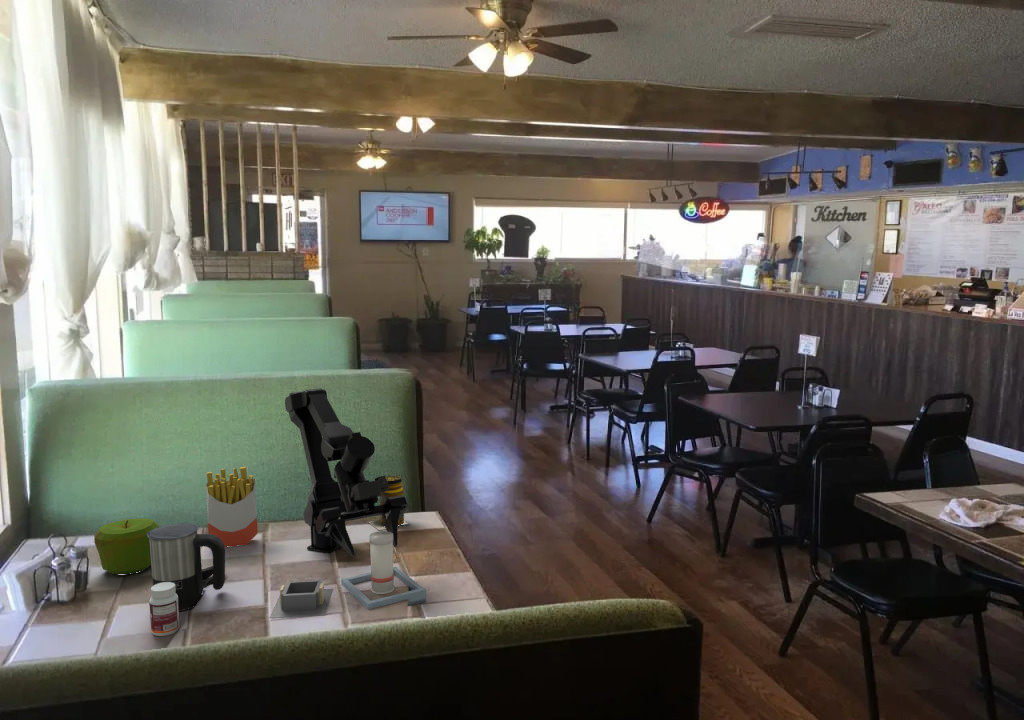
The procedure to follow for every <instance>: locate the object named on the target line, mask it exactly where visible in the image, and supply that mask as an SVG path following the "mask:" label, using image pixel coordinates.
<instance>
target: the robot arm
mask: <svg viewBox="0 0 1024 720" xmlns="http://www.w3.org/2000/svg"><path fill="white" fill-rule="evenodd" d="M327 393H328V392H327V390H326V389H325V388H324V389H323V388H310V389H309V388H308V389H305V390H302V391H292V392H290V393H289V395H288V396H287V397H285V399H284V407H285V410H286V412H287V413H288V415H289V418H290V422H291V423H292V424H294V425H295V426H296V427H297V428H298V430H299V431H300V436H301V440H302V445H303V450H304V454H305V459H306V463H307V467H308V471H309V477H310V481H311V488H310V491H309V494H308V495H307V499H308V500H307V504H306V507H305V509H304V511H303V518H304V523H305V524H306V525H308V526H309V527H310V545H308V546H307V547H306V549H307V550H309V551H316V552H322V553H332V552H334V551H335V550H337V549H339V548H340V547H342V548H343V549H344V550H345V551H346V552H347V553H348V555H349V556H351V557H354V556H355V550H354V546H353V544H352V543H353V542H352V540H351V538H350V535H349V533H348V531H347V527H346V522H349V521H355V520H361V519H365V518H370V517H374V516H375V517H376V516H380V515H383V518H384V519H386V521H385V522H384V524H385V527H386V529H385V530H386V531H388V532H391V533H393V548H397V547H398V528H399V527H398V520H399V519H400V518H401V517H402V516H403V515H404V516H405V513H406V511H407V510H408V508H409V506H410V503H409V501H408V499H407V497H406V496H405V495H404V494H403V495H404V496H403V495H400V496H395V497H389V498H387V500H386V502H385V504H384V505H380V504H379V505H375V504H377V503H378V501H379V498H378V497H380V496H382V492H386V491H388V490H389V486H388V481H387V479H386V475H381V476H377V477H375V478H374V480H371V481H370V480H369V479H366V476H365V473H364V471H366V469H367V468H368V466H369V464H370V462H371V460H372V458H373V456H374V453H375V449H376V447H375V444H374V442H372V441H371V440H370V439H369V438H368V437H366V436H362V434H361V432H360V431H357V432H354V431H353V430H352V429H351V428H350V427H349V426H347V425H344V424H343V423H342V422H341V421H340V419H339V417H338V415H337V414H336V412H335V409H334V408H333V406H332V404H331V402H330V401H329V399H328V394H327ZM335 461H338V462H337V463H336V464H335V466H334V468H333V477H334V478H333V477H332V472H331V468H330V465H329V464H330V463H329V462H335Z"/></svg>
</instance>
